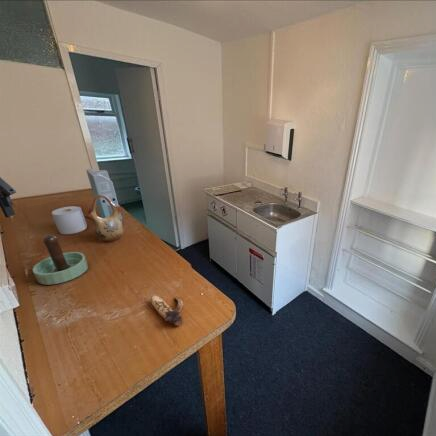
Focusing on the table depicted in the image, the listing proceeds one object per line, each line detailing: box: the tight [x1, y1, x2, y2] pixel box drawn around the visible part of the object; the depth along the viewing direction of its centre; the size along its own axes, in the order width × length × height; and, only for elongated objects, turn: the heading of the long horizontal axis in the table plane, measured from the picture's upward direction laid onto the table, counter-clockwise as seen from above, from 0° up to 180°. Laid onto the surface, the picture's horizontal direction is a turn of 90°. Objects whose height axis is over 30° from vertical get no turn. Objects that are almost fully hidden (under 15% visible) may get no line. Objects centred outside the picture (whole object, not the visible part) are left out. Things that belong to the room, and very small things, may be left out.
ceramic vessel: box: [83, 195, 125, 243], centre depth 118 cm, size 16×9×25 cm, turn 140°
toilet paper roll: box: [51, 206, 88, 235], centre depth 127 cm, size 12×12×12 cm
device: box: [85, 168, 123, 223], centre depth 137 cm, size 16×8×30 cm, turn 48°
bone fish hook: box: [150, 294, 184, 327], centre depth 83 cm, size 9×5×18 cm
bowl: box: [32, 251, 89, 286], centre depth 96 cm, size 16×16×6 cm
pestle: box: [43, 234, 71, 272], centre depth 94 cm, size 5×5×18 cm
